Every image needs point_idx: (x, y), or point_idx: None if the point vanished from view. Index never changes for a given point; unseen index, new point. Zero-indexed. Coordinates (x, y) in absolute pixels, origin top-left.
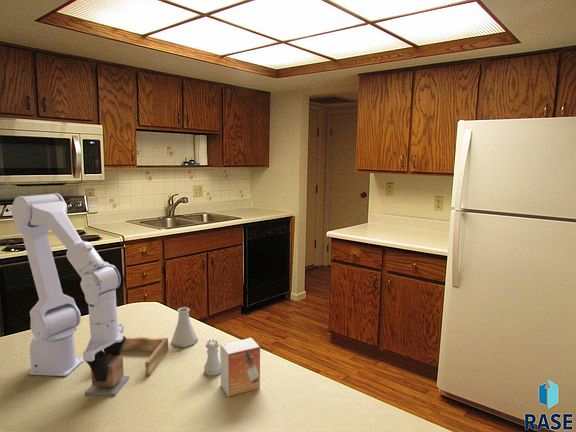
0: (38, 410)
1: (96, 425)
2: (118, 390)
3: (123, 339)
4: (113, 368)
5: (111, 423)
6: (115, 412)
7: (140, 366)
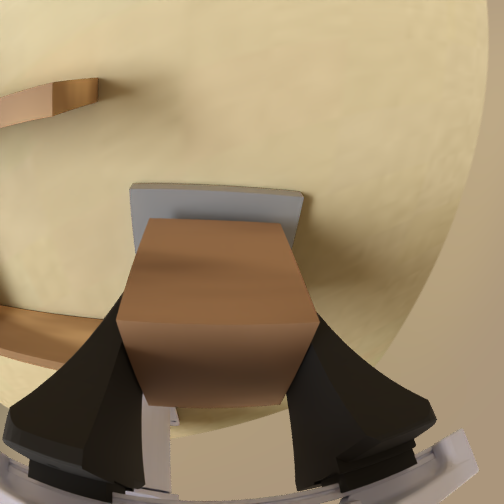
0: None
1: (454, 199)
2: (265, 191)
3: (50, 459)
4: (293, 303)
5: (461, 154)
6: (416, 153)
7: (27, 179)
